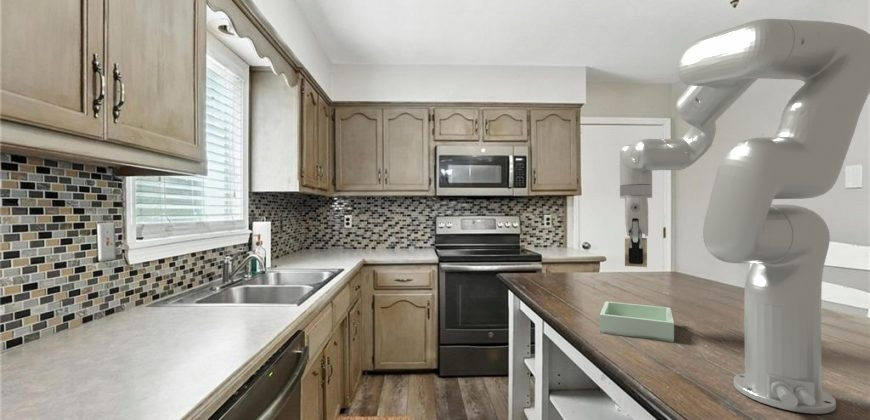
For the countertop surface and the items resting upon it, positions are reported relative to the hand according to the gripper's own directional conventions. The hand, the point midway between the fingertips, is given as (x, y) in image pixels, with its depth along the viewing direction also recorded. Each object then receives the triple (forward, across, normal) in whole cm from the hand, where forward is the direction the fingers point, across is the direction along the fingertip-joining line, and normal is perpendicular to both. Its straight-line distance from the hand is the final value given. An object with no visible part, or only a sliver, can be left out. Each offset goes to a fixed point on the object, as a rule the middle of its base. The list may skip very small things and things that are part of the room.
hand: (636, 261), depth 101 cm
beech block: (+1, 0, 0) cm, 1 cm away
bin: (+17, 0, 0) cm, 17 cm away
